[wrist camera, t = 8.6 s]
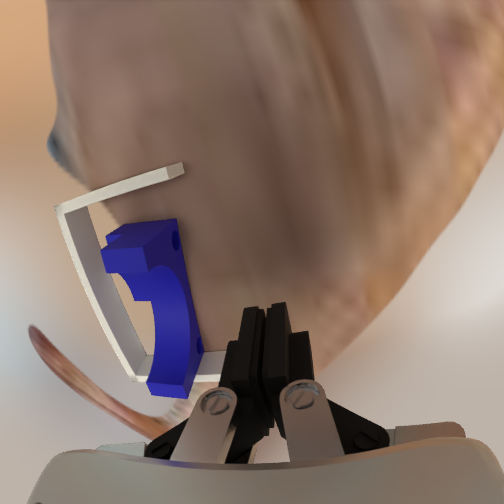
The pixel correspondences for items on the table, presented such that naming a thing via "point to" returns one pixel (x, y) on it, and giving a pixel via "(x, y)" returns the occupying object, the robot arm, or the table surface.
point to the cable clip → (160, 299)
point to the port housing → (101, 283)
